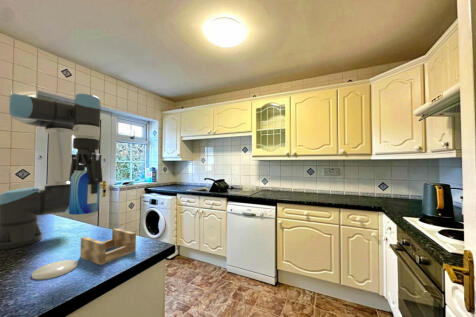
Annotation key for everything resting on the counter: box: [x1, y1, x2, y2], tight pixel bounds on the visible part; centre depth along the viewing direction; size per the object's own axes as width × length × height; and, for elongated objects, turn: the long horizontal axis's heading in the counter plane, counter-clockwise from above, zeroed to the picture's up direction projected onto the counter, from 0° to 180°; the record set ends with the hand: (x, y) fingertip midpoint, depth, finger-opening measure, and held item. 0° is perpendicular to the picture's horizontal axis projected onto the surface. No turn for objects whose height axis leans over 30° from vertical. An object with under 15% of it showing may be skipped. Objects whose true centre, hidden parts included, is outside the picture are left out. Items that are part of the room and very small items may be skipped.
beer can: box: [68, 169, 101, 219], centre depth 72 cm, size 8×8×16 cm
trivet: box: [31, 259, 79, 281], centre depth 65 cm, size 11×11×1 cm
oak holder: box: [80, 227, 137, 266], centre depth 77 cm, size 13×13×7 cm
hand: (84, 201), depth 71 cm, fingers closed on beer can, 8 cm apart
